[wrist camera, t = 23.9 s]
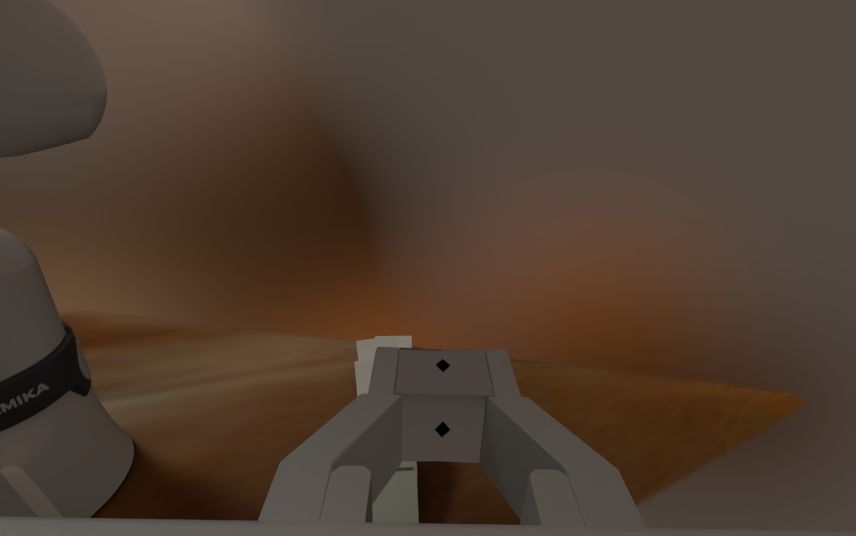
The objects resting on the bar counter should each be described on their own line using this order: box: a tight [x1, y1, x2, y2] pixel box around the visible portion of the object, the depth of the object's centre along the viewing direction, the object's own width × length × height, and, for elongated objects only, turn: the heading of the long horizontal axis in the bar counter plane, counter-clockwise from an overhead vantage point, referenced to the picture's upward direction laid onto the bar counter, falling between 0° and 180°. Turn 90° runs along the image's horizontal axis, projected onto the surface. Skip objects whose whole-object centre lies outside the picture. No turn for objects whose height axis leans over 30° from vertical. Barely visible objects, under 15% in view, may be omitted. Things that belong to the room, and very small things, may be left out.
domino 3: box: [372, 461, 419, 523], centre depth 37 cm, size 2×5×9 cm
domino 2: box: [356, 336, 398, 361], centre depth 50 cm, size 2×5×9 cm
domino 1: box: [354, 359, 374, 396], centre depth 46 cm, size 2×5×9 cm
